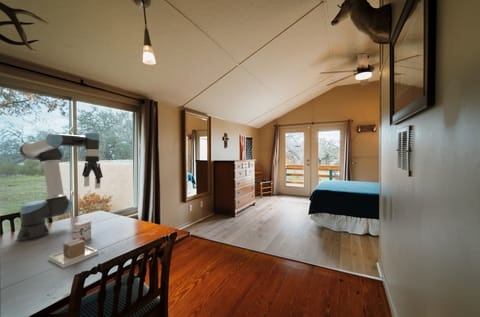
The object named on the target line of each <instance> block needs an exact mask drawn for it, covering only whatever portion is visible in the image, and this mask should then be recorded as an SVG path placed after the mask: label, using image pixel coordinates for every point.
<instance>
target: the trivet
mask: <svg viewBox="0 0 480 317" xmlns="http://www.w3.org/2000/svg"><path fill="white" fill-rule="evenodd" d="M98 254H99V250H98V249H96V248H93V247H90V246H88V245H86V244H85V253H84V254H82V255H79V256H76V257H74V258H71V259H69V258H67V257H65V256H63V250H62V251H60V252H57V253H53V254H51V255H49V256H48V261H50V262H52V263H53V264H56V265H57V266H58V267H61V268H63V269H64V268H67V267H69V266H72V265H74V264H77V263H79V262H81V261H83V260H84V261H85V260H86V259H89V258H91V257H94V256H96V255H98Z"/></svg>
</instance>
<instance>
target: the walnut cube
mask: <svg viewBox="0 0 480 317" xmlns="http://www.w3.org/2000/svg"><path fill="white" fill-rule="evenodd" d="M62 244H63V247H62V248H63V249H62V251H63V256H65V257H67V258H69V259H71V258H74V257H76V256H79V255H82V254H84V253H85V245H86V240H81V239H79V238H78V239H75V240H73V239H72V240H68V241H66V242H63V243H62Z"/></svg>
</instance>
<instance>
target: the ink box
mask: <svg viewBox="0 0 480 317" xmlns="http://www.w3.org/2000/svg"><path fill="white" fill-rule="evenodd" d="M72 225H73V226H72V228H73V229H72V230H73V231H72V232H73V233H72V238H73V239H72V240H75V239H78V238H79V239H81V240H84V241H87V240H89V239H91V238H92V220H87V219H86V220H82V221H78V222H76V223H73V224H72Z"/></svg>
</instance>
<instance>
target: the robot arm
mask: <svg viewBox="0 0 480 317" xmlns="http://www.w3.org/2000/svg"><path fill="white" fill-rule="evenodd" d="M63 147H73V148H74V147H76V148H84V149H85V150H84V155H85V156H84V167H83V170H82V171H83V172H82V177H84V178H83V179H84V181H83V183H84V184H83V187H85V188H86V187H89V186H90V174H91V172H92V173H93V175H94V176H95V178H94V183H95V184H94V189H95V190H96V189H101V179H102V178H103V173H102V169H101V163H99V162H100V134H99V133H98V132H87V131H86V133H85V134H84V135H76V134H75V135H74V134H63V133H48V134H47V135H46V137H45V138H43V139H40V140H37V141H34V142H27V143H24V144H22V145H20V147H19V149H18V150H19V151H18V152H19V154H20V155H21V156H22V157H23V158H25V159H27V160H32V161H39V163H40V164H41V165H42V166H43V171H44V172H43V173H44V179H45V184H46V192H47V197H46V198H45V200H44V199H43V200H40V199H39V200H35V201H30V202H27V203H24V204H23V205H21V207H20V212H19V214H20V228H19V230H18V233H17V236H16V241H18V242H29V241H35V240H39V239H42V238H44V237H47V236H48V235H49V234H50V230H49V227H48V226H47V224H46V219H51V218H54V217H57V216H63V215H66V214H68V213H69V212H70V211H71V210H72V206H73V202H72V200H71V199H72V198H69V197H68V196H67V195H66V194H64V188H63V187H64V186H63V181H62V175H61V169H60V163H61V162H62V160H63V158H64V157H65V150H64V149H63Z"/></svg>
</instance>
